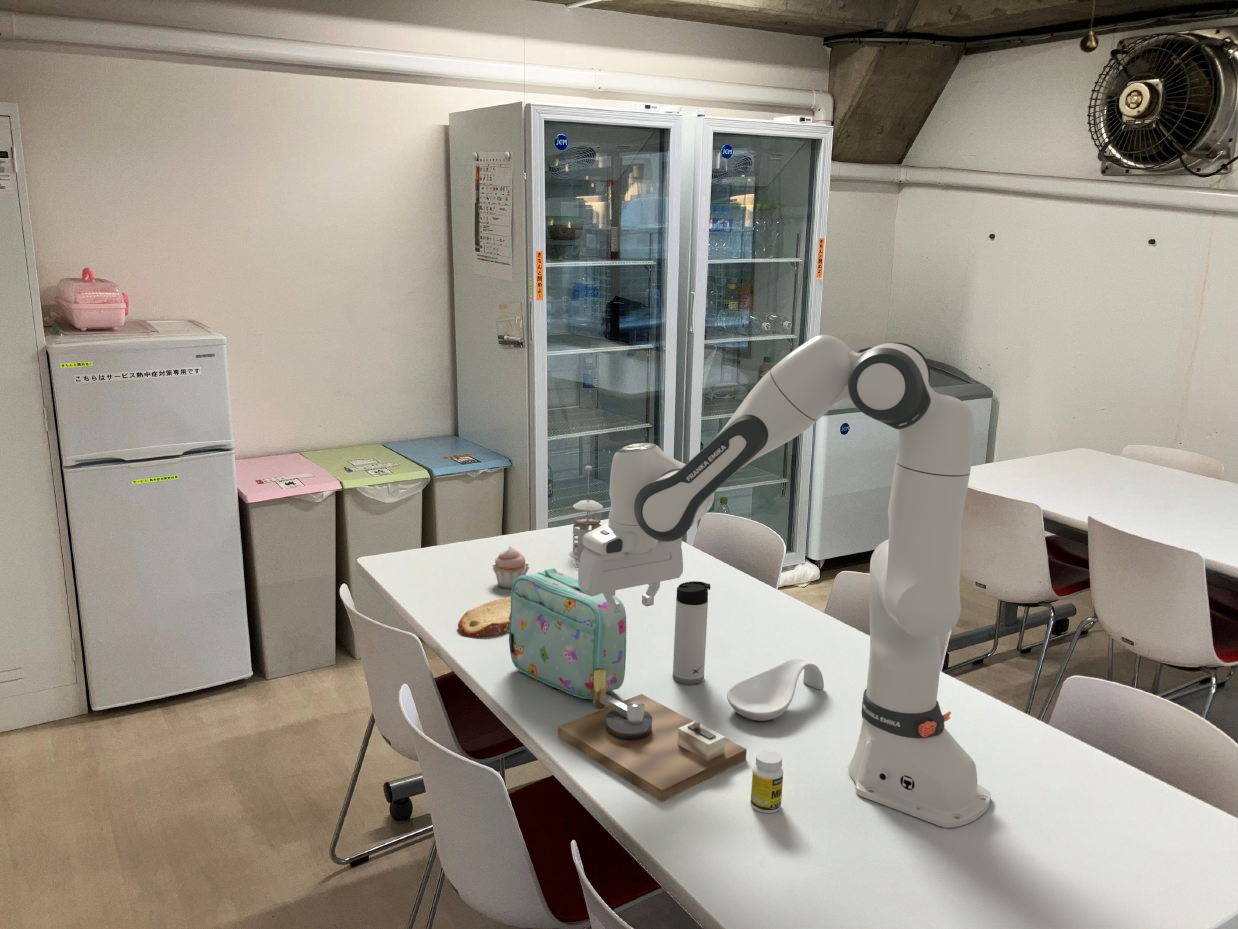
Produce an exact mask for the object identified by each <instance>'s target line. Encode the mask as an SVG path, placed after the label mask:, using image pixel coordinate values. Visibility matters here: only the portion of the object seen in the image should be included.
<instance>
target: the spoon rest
mask: <svg viewBox="0 0 1238 929" xmlns="http://www.w3.org/2000/svg"><path fill="white" fill-rule="evenodd" d="M802 671H804V672H803V679H802V680H803V683H804V684H805V685H807V686H809V687H812V688H814V689H817V690H823V689H824V688H825V684H824V677H823V673H822V671H821V670H820V668H819V667H818V666H817V665H816V664H814V663H812V662H807V661H806V660H804V659H802V658H792V659H788V660H786V661H784V662H782V663H780V664H778V665H776V666H774V667H772V668H769V669H768V670H767V669H766V670H765V671H763V672H761V673H760V672H759V673H757V674H756V675H753V676H751V677H748V678H747V679H744V680H742V681H741V680H740V681H739V682H737V683H736V684H734V685H732V686H731V687H730V688H729V690H728V691H727V694H726V699H727V701H728V704H729V705H730V706H731V708H732V709H733V710H734V711H735V712H736V713H737V714H739V716H742V717H744V718H746V719H748V720H752V721H758V722H766V721H772V720H774V719H776V718H778V717H780V716H781V715H782V714H784V713H785V712H786V711H787V709H788V708H789V706H791V705H790V704H791V703H792V700H793V698H794V695H795V691H796V688H797V683H798V680H799V677H800V674H801V673H802Z"/></svg>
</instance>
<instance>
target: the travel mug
mask: <svg viewBox="0 0 1238 929" xmlns="http://www.w3.org/2000/svg"><path fill="white" fill-rule="evenodd" d="M710 590H711V583H707V582H705V581H700V580H699V581H698V580H697V581H695V580H694V581H686V582H683V583H680V584H679V585H678V586H677V588H676V598H675V615H674V616H675V618H674V619H675V620H674V637H673V638H674V641H673V663H672V665H673V666H672V679H674V681H675V682H677V683H680V684H683V685H698V684H700V683H702V681H704V680H705V666H706V647H707V646H706V645H707V643H706V642H707V630H708V629H707V628H708V627H707V625H708V606H709V605H708V604H709V597H708V596H709V591H710Z"/></svg>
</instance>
